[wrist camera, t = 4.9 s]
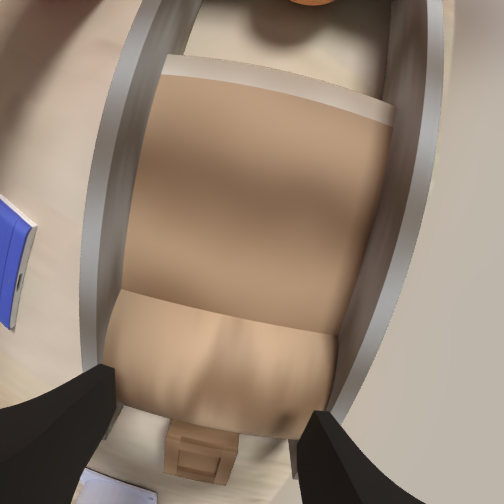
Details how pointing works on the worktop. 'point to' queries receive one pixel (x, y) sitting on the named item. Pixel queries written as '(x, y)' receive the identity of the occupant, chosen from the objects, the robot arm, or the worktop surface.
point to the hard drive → (13, 258)
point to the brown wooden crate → (200, 452)
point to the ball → (312, 2)
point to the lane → (252, 225)
